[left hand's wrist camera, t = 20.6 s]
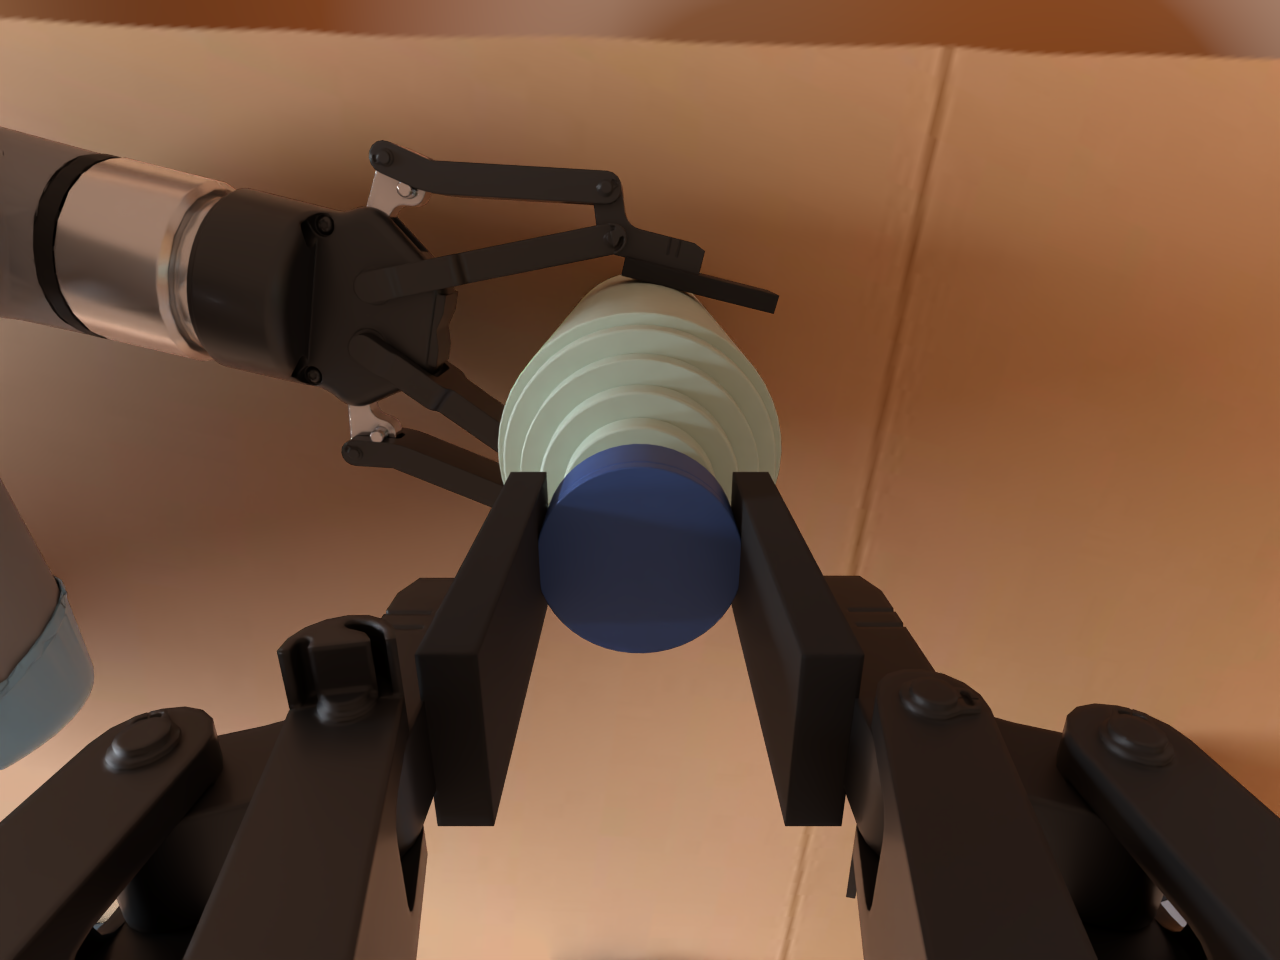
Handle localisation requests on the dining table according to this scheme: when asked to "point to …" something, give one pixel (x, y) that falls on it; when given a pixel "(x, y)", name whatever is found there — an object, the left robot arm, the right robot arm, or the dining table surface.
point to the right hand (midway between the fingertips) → (740, 399)
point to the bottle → (639, 389)
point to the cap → (639, 549)
